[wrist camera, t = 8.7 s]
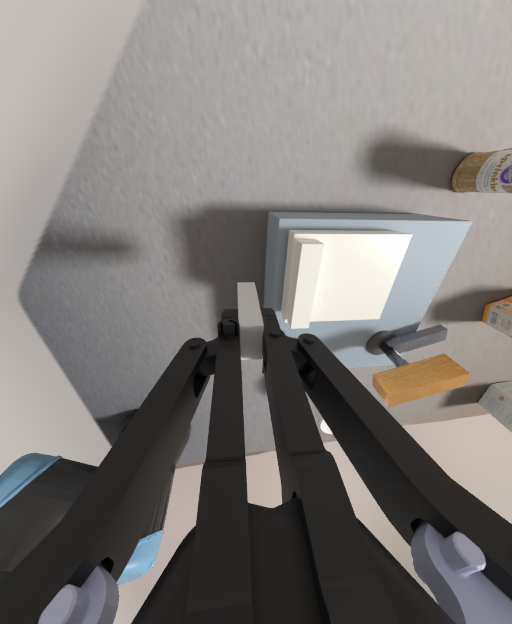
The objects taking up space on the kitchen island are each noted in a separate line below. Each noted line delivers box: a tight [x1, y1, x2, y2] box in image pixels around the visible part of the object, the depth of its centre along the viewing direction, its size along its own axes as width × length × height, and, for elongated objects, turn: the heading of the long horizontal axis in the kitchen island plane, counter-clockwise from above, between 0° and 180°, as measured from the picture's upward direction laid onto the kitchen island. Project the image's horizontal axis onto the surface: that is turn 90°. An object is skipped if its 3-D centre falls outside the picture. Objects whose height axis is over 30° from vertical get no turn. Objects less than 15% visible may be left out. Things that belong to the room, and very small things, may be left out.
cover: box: [281, 230, 412, 329], centre depth 23 cm, size 12×10×4 cm
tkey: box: [373, 325, 470, 407], centre depth 27 cm, size 2×12×8 cm, turn 108°
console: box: [263, 211, 473, 368], centre depth 31 cm, size 22×22×8 cm
